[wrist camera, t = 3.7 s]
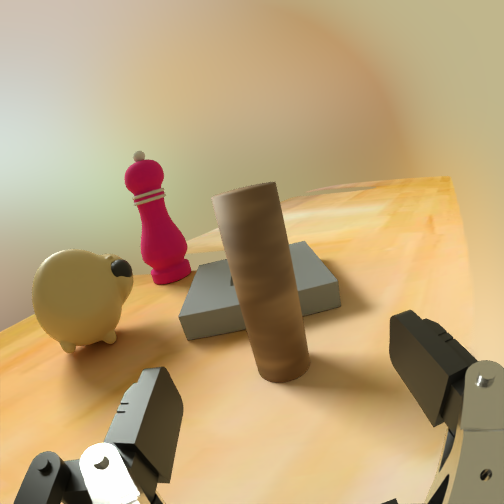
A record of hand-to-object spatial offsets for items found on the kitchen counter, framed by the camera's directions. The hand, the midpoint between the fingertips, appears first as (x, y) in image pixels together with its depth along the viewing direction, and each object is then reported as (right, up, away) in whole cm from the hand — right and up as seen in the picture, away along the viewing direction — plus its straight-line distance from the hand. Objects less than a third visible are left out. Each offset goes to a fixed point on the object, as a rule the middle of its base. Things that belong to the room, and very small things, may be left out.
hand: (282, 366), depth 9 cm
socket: (0, -1, +22) cm, 22 cm away
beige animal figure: (-18, -6, +19) cm, 26 cm away
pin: (+1, -4, +10) cm, 11 cm away
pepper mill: (-13, 0, +35) cm, 38 cm away
